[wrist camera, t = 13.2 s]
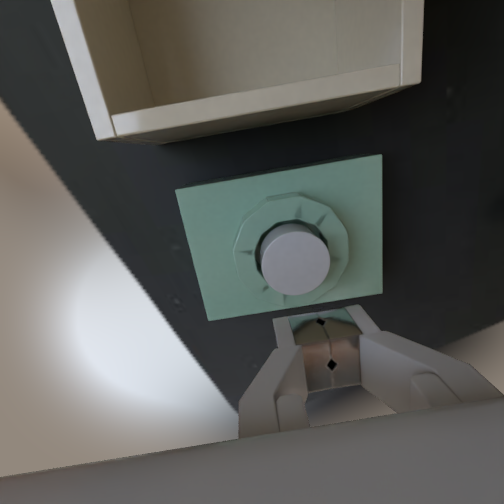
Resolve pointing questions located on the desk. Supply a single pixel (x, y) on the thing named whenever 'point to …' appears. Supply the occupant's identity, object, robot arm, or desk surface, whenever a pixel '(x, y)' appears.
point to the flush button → (294, 259)
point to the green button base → (280, 213)
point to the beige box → (234, 61)
